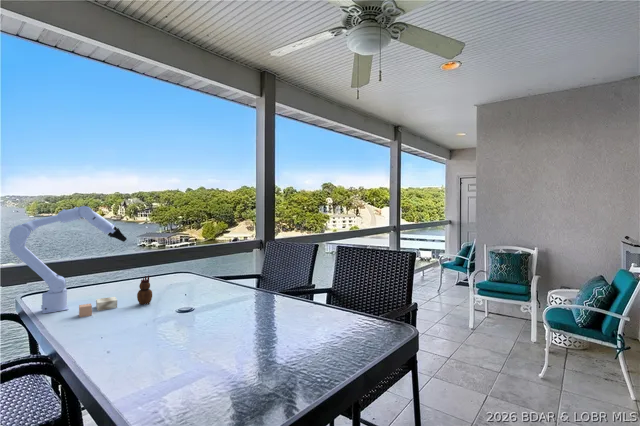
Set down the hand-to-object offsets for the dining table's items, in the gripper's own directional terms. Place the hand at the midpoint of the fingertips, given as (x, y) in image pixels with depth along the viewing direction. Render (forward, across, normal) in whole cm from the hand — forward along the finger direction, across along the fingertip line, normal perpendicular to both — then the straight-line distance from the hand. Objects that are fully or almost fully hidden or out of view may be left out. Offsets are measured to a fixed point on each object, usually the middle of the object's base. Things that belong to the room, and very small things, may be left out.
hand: (124, 239), depth 173 cm
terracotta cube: (+8, -17, +36) cm, 41 cm away
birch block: (+15, -9, +30) cm, 35 cm away
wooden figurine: (+27, -14, +20) cm, 36 cm away
